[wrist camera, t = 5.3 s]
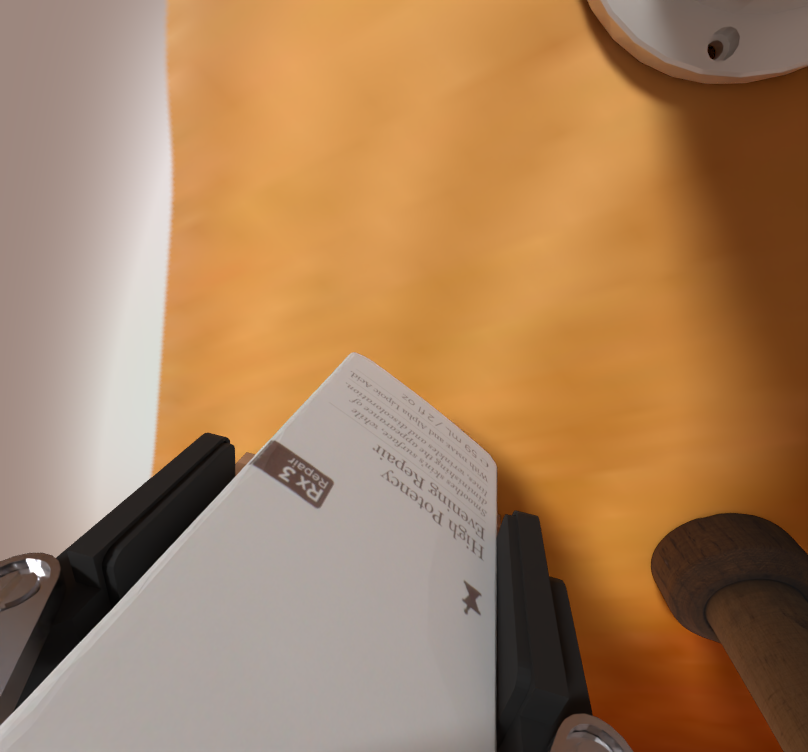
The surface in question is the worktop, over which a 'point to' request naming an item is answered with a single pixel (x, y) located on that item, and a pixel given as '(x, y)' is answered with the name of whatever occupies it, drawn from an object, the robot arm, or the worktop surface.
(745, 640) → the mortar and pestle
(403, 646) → the skincare box
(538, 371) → the worktop surface
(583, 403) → the worktop surface
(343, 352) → the worktop surface
